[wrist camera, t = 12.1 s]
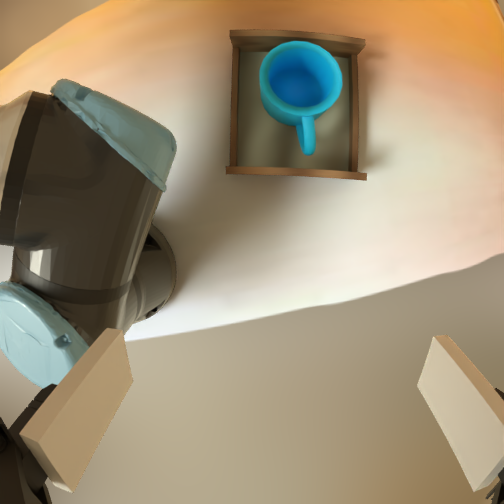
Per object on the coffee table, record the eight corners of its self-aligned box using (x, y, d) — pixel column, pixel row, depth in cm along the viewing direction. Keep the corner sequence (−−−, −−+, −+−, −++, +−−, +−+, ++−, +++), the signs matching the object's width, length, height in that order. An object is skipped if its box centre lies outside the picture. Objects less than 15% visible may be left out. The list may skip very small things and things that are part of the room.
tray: (231, 172, 38) (225, 174, 32) (234, 48, 33) (229, 30, 28) (351, 177, 37) (366, 180, 31) (351, 55, 33) (365, 39, 27)
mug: (255, 69, 34) (252, 45, 26) (320, 62, 33) (333, 38, 25) (271, 161, 37) (273, 159, 29) (337, 152, 36) (355, 150, 28)
